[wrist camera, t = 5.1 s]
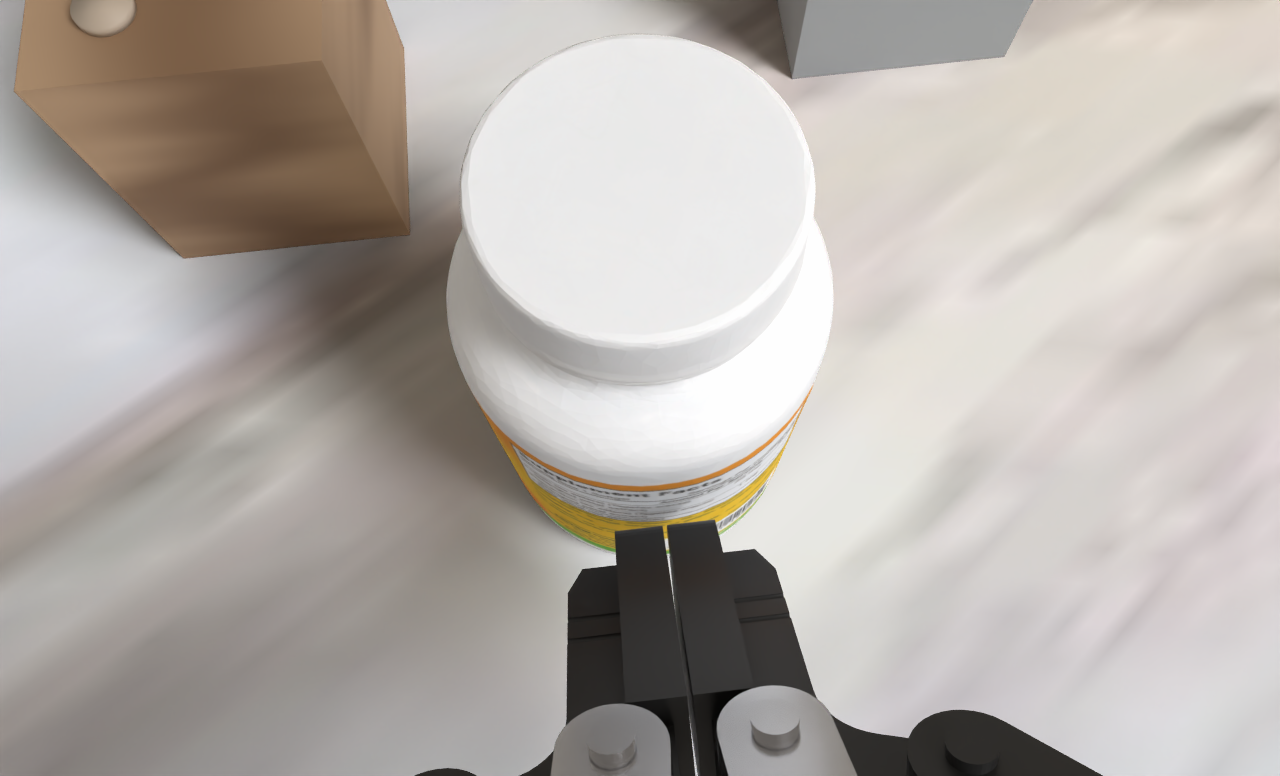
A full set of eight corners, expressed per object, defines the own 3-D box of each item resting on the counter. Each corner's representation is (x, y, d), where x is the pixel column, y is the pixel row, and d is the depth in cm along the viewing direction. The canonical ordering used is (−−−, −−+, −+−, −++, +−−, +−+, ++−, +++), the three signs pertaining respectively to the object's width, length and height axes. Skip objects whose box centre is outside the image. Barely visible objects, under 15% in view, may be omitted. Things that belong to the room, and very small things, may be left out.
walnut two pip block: (184, 259, 21) (6, 84, 16) (194, 71, 23) (36, -152, 17) (410, 235, 22) (317, 52, 16) (404, 50, 23) (318, -179, 17)
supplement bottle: (560, 282, 21) (484, -62, 12) (804, 345, 20) (923, 34, 11) (478, 520, 19) (315, 333, 10) (741, 595, 19) (821, 471, 10)
